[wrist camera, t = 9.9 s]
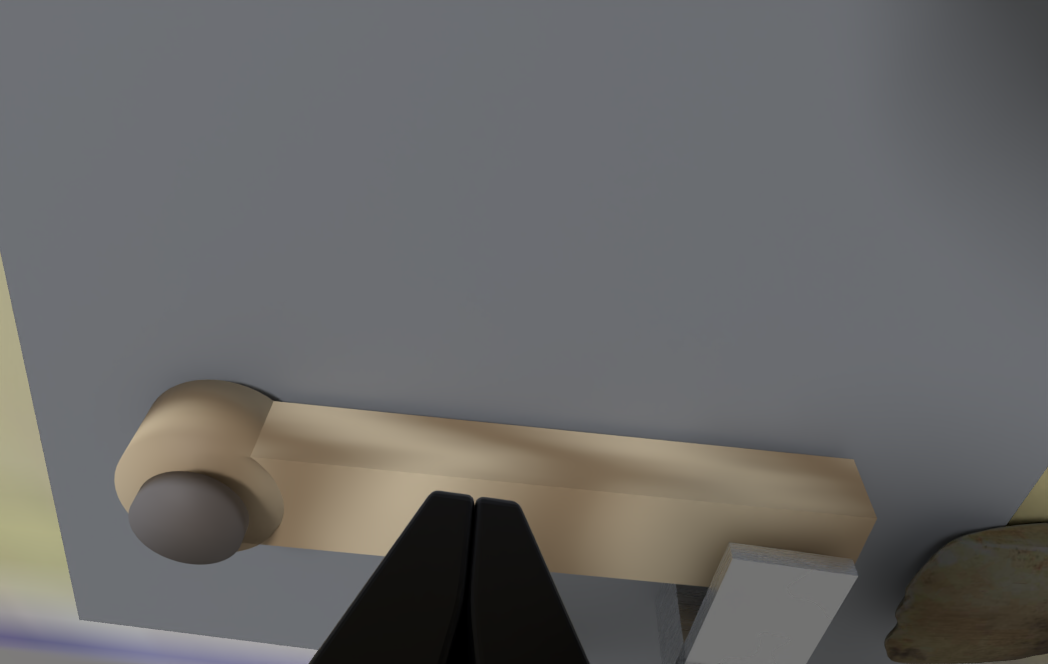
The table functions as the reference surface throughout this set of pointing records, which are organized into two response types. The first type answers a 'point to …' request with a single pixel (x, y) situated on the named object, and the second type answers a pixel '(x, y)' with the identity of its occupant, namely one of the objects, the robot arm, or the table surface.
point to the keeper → (753, 608)
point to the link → (468, 486)
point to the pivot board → (534, 255)
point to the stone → (977, 600)
